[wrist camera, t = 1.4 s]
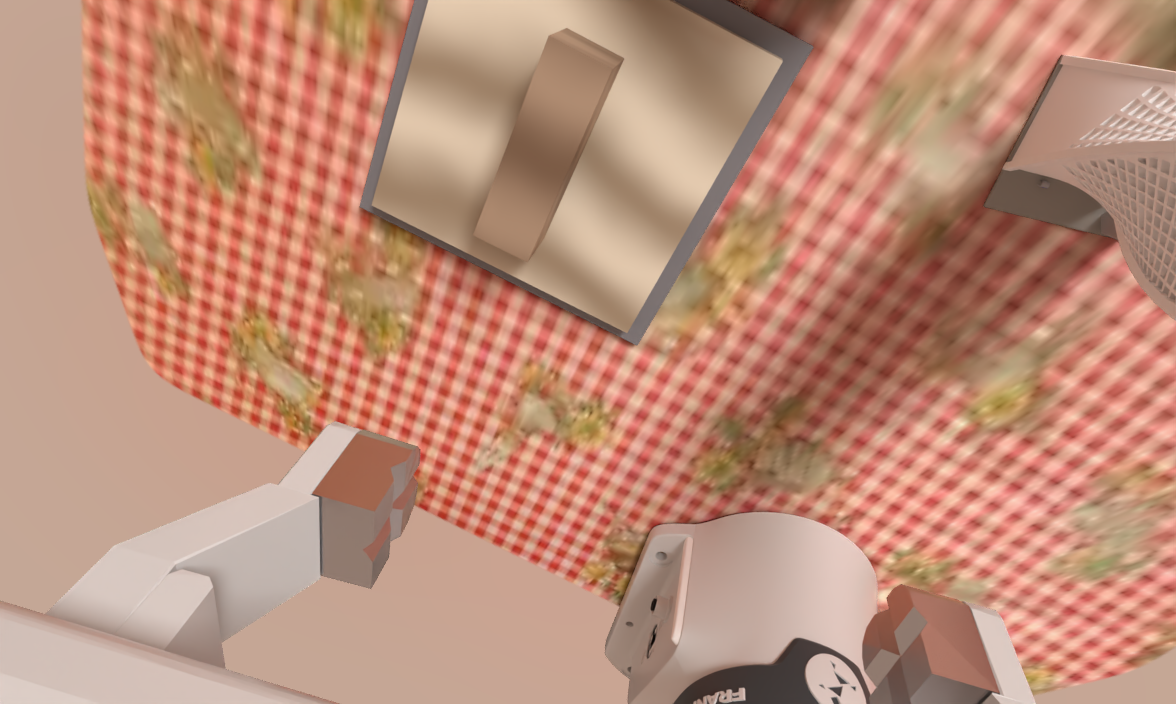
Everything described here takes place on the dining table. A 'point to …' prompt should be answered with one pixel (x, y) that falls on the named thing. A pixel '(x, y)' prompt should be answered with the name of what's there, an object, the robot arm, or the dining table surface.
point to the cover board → (620, 159)
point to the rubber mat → (794, 53)
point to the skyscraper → (1103, 164)
